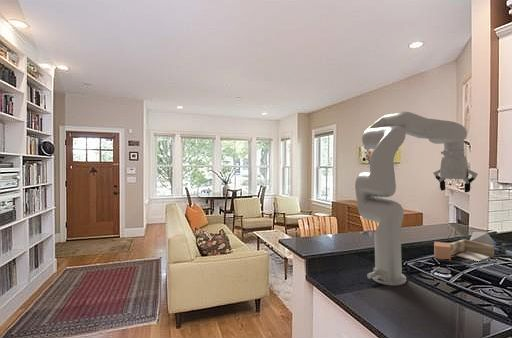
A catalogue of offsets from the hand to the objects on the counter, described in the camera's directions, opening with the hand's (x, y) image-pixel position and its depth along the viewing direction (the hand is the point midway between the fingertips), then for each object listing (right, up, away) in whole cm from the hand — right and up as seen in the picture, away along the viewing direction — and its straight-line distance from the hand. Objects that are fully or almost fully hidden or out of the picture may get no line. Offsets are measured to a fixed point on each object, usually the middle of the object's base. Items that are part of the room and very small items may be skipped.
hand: (454, 191), depth 132 cm
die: (+18, -29, +8) cm, 35 cm away
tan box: (+8, -30, 0) cm, 31 cm away
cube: (-5, -31, +1) cm, 31 cm away
